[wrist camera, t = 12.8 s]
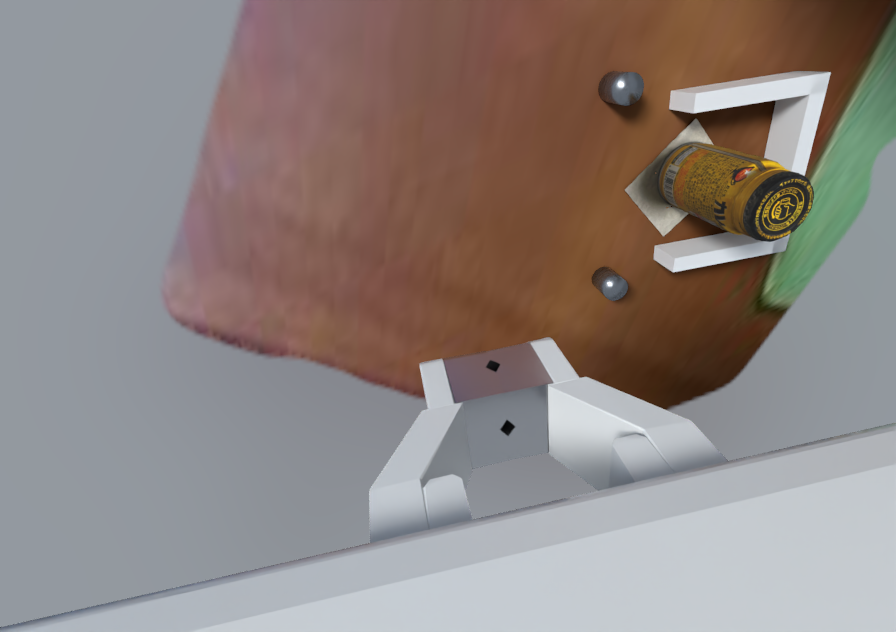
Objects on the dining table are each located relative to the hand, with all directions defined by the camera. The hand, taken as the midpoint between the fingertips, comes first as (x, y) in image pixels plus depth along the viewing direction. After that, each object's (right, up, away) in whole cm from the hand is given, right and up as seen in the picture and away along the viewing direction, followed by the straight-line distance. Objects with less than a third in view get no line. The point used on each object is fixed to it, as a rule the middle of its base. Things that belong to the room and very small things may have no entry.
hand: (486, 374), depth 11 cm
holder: (+25, +15, +35) cm, 46 cm away
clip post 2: (+15, +5, +38) cm, 42 cm away
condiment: (+21, +14, +35) cm, 43 cm away
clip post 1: (+13, +21, +29) cm, 38 cm away
